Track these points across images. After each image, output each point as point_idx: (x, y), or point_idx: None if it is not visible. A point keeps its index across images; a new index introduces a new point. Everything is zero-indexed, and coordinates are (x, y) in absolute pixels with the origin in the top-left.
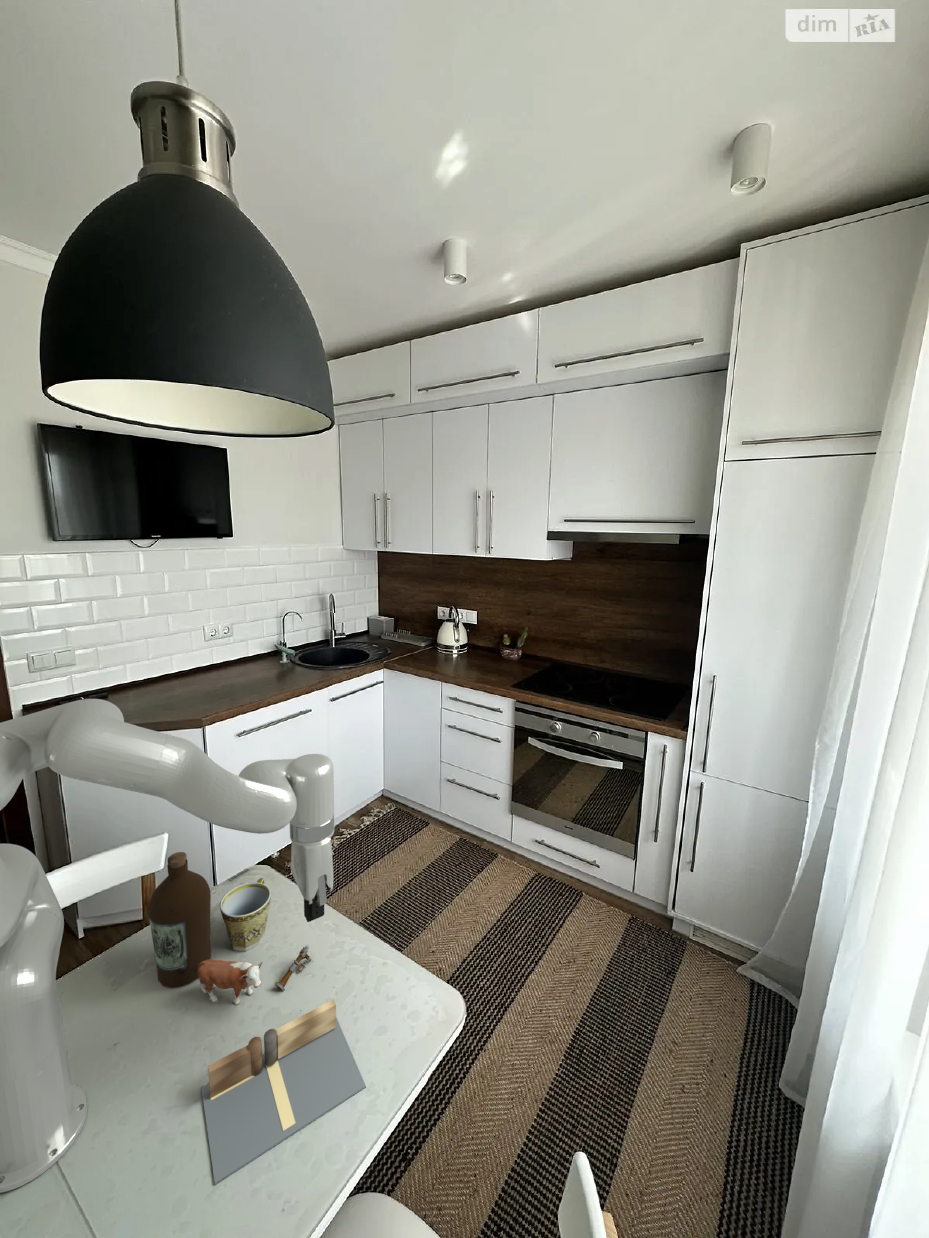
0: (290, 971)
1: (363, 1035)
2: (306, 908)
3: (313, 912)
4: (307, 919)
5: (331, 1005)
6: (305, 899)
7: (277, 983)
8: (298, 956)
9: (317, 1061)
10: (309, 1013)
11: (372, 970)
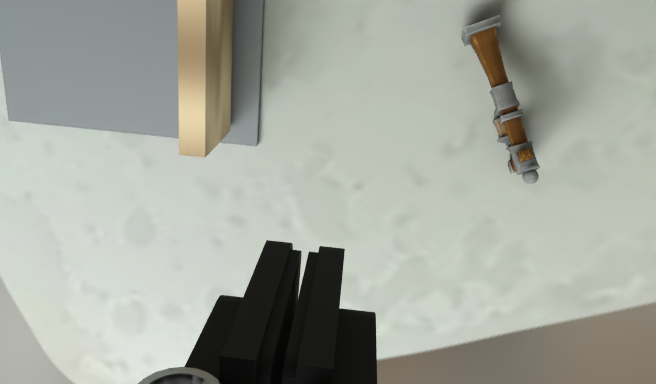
0: (494, 83)
1: (152, 183)
2: (238, 311)
3: (204, 332)
4: (265, 251)
5: (185, 140)
6: (299, 369)
7: (488, 23)
8: (521, 133)
9: (144, 35)
10: (198, 58)
11: None
